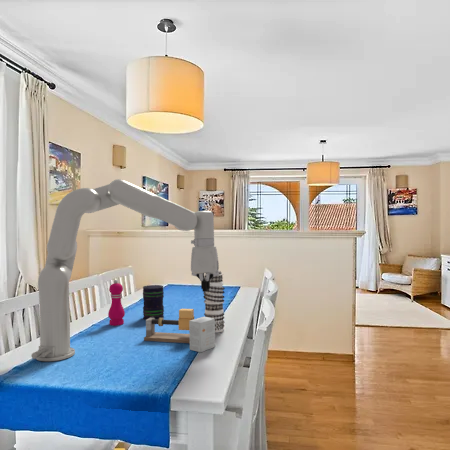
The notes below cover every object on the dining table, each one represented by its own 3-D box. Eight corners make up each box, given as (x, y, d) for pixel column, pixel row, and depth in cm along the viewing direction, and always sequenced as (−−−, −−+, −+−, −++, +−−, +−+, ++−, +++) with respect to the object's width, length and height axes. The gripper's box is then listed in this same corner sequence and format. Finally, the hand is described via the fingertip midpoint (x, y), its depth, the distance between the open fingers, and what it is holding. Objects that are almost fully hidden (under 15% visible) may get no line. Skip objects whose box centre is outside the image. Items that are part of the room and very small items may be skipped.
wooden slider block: (191, 330, 153) (190, 311, 153) (178, 329, 154) (178, 310, 154) (194, 327, 157) (194, 308, 157) (182, 326, 158) (182, 308, 158)
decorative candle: (200, 328, 172) (199, 270, 172) (220, 326, 175) (220, 268, 175) (207, 333, 164) (206, 272, 163) (228, 331, 167) (227, 271, 167)
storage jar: (160, 314, 199) (159, 284, 199) (166, 318, 191) (166, 287, 190) (140, 316, 194) (140, 286, 194) (146, 321, 186) (146, 289, 186)
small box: (204, 344, 150) (203, 316, 149) (215, 347, 146) (215, 318, 146) (189, 349, 143) (188, 320, 143) (200, 352, 140) (200, 322, 140)
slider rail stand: (198, 343, 150) (198, 322, 150) (143, 340, 155) (143, 319, 155) (204, 337, 158) (204, 317, 158) (152, 334, 163) (151, 315, 163)
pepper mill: (120, 326, 177) (119, 281, 177) (105, 325, 179) (104, 280, 178) (127, 322, 184) (126, 278, 184) (113, 321, 186) (112, 278, 186)
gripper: (182, 244, 152) (184, 292, 152) (221, 243, 148) (222, 293, 148) (188, 242, 159) (189, 289, 159) (225, 242, 156) (226, 289, 156)
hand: (205, 290), depth 154 cm, fingers closed
